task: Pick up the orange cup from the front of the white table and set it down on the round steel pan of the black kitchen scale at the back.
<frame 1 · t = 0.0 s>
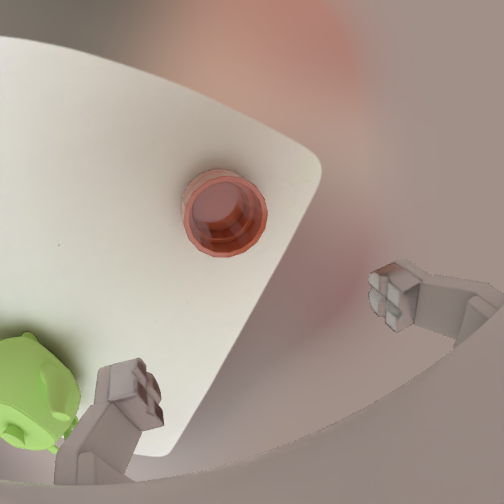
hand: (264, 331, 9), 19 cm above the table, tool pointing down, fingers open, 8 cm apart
teapot: (39, 360, 28), on the table
orange cup: (216, 204, 27), on the table
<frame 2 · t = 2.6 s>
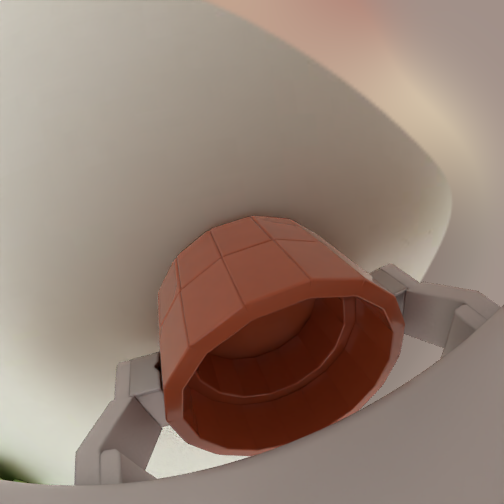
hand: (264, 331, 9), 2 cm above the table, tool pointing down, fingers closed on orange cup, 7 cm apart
orange cup: (249, 299, 11), on the table, touching gripper
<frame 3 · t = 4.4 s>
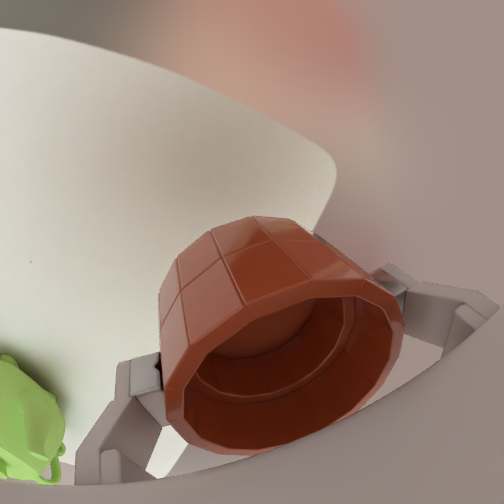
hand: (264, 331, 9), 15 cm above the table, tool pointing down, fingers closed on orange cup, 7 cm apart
teapot: (21, 384, 23), on the table
orange cup: (249, 299, 11), point 13 cm above the table, touching gripper
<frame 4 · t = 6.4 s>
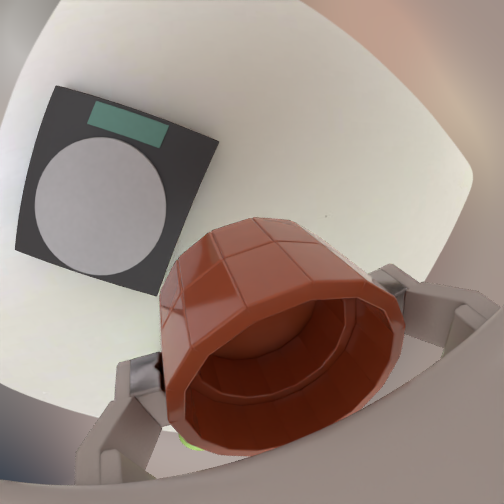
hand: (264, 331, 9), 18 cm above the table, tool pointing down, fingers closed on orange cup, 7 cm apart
scale: (106, 190, 22), on the table
orange cup: (250, 300, 11), point 16 cm above the table, touching gripper
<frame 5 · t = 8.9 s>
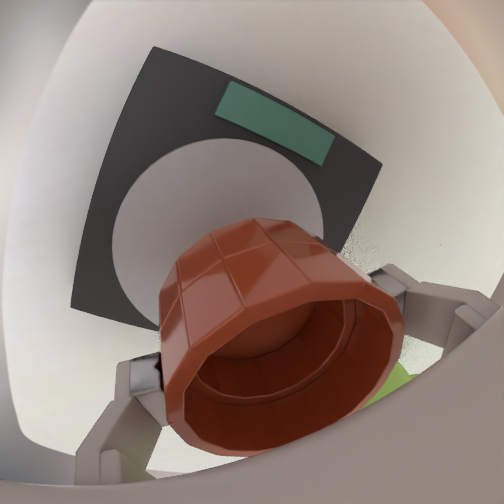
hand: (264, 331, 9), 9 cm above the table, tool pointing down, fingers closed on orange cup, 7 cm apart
teapot: (340, 384, 28), on the table
scale: (221, 217, 17), on the table
orange cup: (250, 301, 11), point 7 cm above the table, touching gripper
when the fingers open (4 cm above the table, at t = 10.6 s): orange cup stays where it is, resting on scale.
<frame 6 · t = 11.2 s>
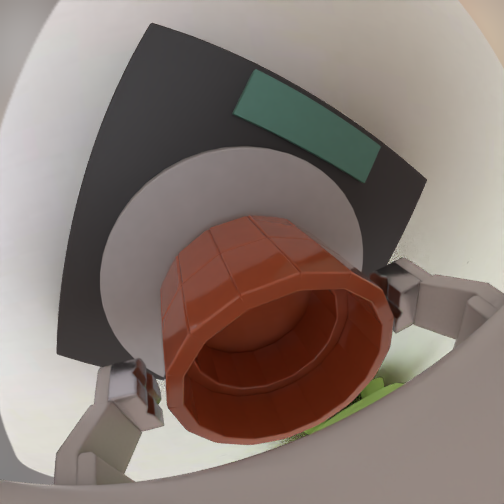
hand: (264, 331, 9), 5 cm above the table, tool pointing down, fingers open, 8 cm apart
teapot: (357, 409, 24), on the table
scale: (237, 244, 14), on the table
orange cup: (247, 295, 11), point 3 cm above the table, touching scale
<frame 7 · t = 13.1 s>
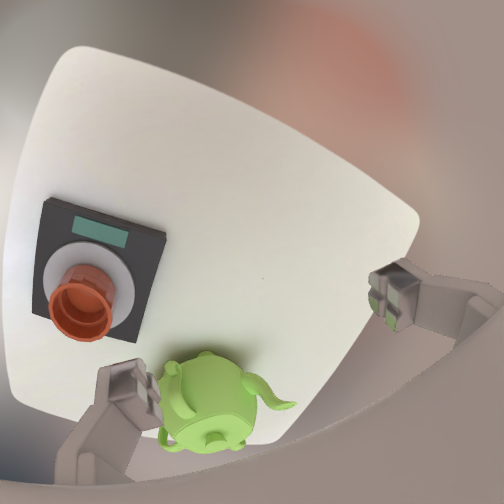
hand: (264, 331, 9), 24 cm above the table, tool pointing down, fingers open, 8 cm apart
teapot: (205, 374, 41), on the table
scale: (93, 271, 30), on the table
orange cup: (87, 291, 28), point 3 cm above the table, touching scale
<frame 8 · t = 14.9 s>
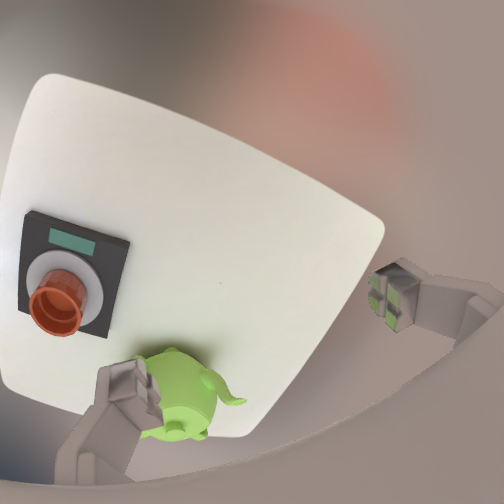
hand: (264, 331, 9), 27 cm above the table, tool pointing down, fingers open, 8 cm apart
teapot: (173, 368, 44), on the table
scale: (69, 274, 33), on the table
orange cup: (63, 292, 31), point 3 cm above the table, touching scale
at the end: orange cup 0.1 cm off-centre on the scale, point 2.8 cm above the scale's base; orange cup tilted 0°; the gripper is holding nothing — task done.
